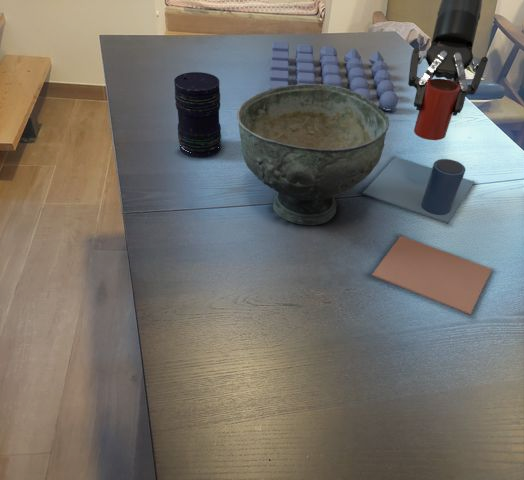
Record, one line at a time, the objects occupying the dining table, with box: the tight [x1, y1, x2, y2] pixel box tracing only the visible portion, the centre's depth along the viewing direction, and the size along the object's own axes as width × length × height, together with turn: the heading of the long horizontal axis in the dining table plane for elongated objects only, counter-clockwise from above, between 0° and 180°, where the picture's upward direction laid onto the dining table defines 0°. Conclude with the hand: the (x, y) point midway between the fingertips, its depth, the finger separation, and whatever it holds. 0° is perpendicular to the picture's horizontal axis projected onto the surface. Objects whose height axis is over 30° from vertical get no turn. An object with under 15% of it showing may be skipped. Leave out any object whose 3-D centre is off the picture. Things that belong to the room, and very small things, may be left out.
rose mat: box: [371, 235, 493, 316], centre depth 93 cm, size 18×14×1 cm
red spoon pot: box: [413, 78, 460, 141], centre depth 97 cm, size 6×6×9 cm
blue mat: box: [362, 156, 475, 224], centre depth 112 cm, size 19×19×1 cm
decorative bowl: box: [236, 83, 390, 226], centre depth 98 cm, size 26×26×20 cm
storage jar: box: [173, 71, 222, 159], centre depth 114 cm, size 10×10×15 cm
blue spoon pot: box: [421, 158, 466, 215], centre depth 103 cm, size 6×6×9 cm
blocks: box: [268, 41, 399, 112], centre depth 146 cm, size 35×34×5 cm
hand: (436, 111), depth 96 cm, fingers closed on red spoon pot, 6 cm apart
